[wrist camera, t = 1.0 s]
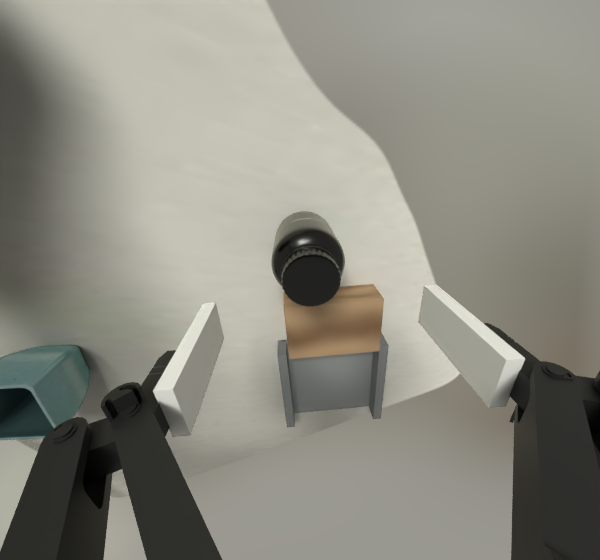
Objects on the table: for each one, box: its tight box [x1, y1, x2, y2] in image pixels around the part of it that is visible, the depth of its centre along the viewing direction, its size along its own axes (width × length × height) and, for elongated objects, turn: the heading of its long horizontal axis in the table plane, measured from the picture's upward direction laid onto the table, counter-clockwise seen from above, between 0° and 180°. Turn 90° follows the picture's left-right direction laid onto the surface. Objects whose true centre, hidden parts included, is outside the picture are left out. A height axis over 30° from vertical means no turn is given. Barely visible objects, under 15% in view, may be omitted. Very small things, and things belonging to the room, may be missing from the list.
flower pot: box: [0, 345, 89, 440], centre depth 33 cm, size 9×9×9 cm
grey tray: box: [278, 333, 388, 427], centre depth 39 cm, size 15×15×3 cm
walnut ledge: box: [284, 284, 384, 359], centre depth 34 cm, size 8×12×4 cm, turn 94°
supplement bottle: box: [272, 212, 345, 307], centre depth 26 cm, size 7×7×12 cm
